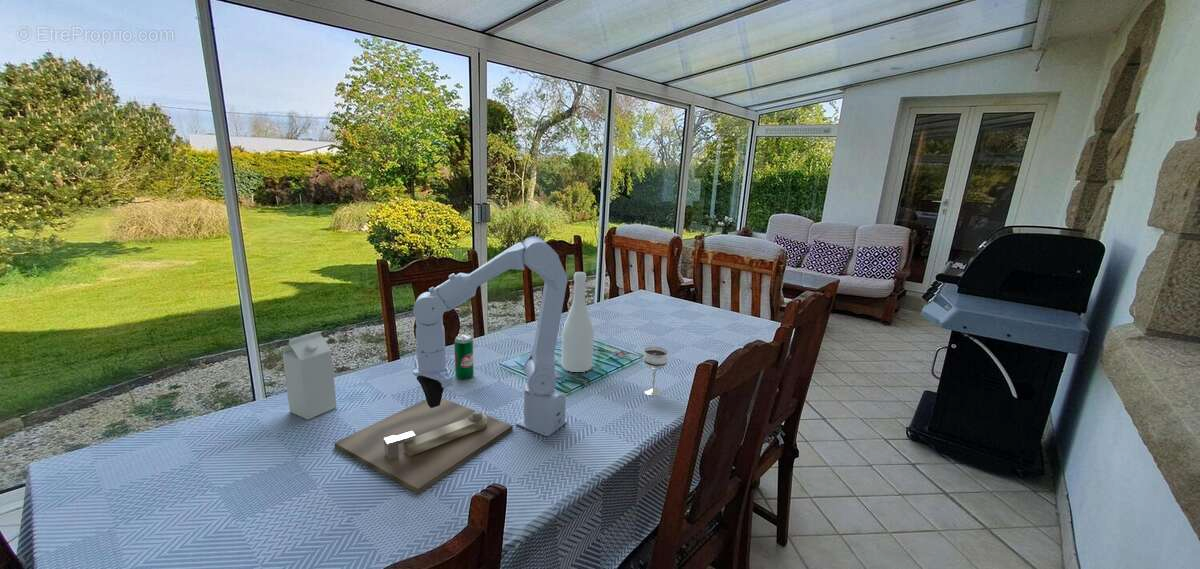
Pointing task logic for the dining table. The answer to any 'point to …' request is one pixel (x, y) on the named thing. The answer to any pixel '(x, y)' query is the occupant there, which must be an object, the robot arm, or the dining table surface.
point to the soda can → (464, 356)
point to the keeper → (396, 444)
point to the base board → (429, 463)
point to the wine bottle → (578, 331)
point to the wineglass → (654, 365)
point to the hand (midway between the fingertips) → (434, 405)
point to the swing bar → (446, 433)
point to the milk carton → (309, 376)
